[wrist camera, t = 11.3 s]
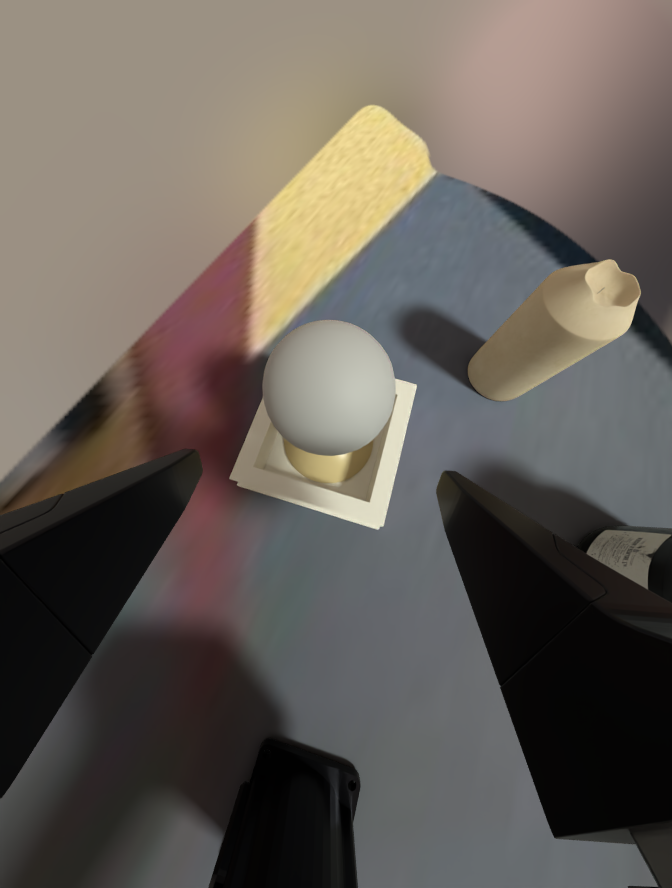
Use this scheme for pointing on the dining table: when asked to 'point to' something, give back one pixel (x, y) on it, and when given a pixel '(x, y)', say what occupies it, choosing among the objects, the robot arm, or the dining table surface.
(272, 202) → the dining table surface
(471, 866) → the dining table surface
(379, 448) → the socket
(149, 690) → the dining table surface
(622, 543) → the ink bottle
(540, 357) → the candle
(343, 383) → the lightbulb
